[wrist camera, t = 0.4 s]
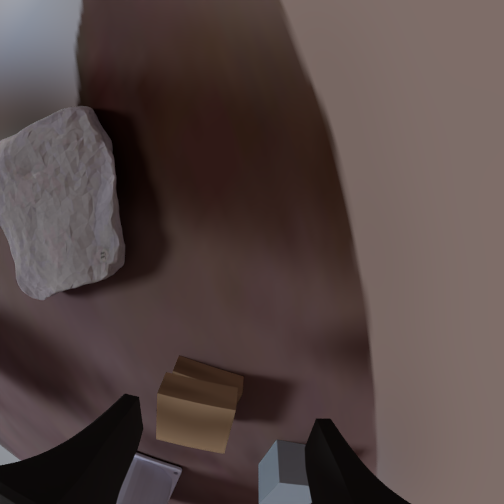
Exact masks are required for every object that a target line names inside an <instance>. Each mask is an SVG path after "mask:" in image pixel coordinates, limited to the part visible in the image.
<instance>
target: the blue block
mask: <svg viewBox="0 0 504 504" xmlns="http://www.w3.org/2000/svg"><path fill="white" fill-rule="evenodd" d="M305 446H306V445H305V444H299V443H293V442H287V441H282V440H276V441H275V443H274V444H273V446H272V447H271V448H270V450H269V451H268V453H267V454H266V455H265V457H264V458H263V459H262V461H261V462H260V463H259V504H310V503H312V501H311V495H310V490H309V485H308V480H307V474H306V468H305Z"/></svg>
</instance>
